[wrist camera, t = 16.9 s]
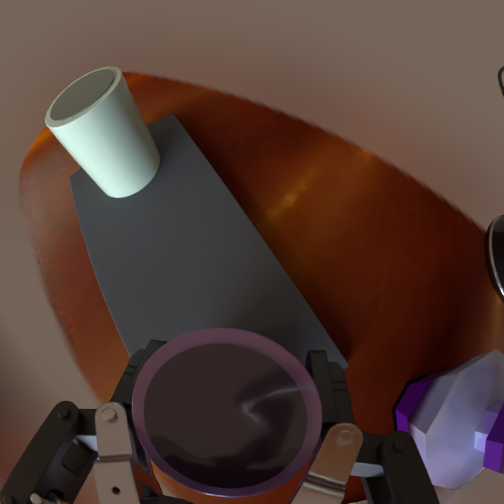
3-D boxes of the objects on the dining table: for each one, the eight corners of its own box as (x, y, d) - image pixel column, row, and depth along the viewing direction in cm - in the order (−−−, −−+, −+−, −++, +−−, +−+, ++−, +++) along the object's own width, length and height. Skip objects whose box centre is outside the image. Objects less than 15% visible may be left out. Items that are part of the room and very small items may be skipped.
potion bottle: (399, 476, 12) (489, 543, 1) (350, 407, 15) (462, 476, 4) (473, 402, 14) (581, 410, 2) (435, 328, 16) (564, 296, 5)
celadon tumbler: (148, 132, 22) (113, 56, 14) (170, 172, 20) (130, 85, 12) (94, 165, 21) (45, 101, 13) (108, 211, 20) (44, 143, 11)
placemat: (174, 116, 24) (172, 112, 23) (346, 364, 16) (349, 365, 15) (72, 180, 22) (69, 176, 21) (193, 452, 14) (191, 455, 14)
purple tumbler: (258, 317, 17) (254, 288, 8) (309, 394, 15) (357, 442, 6) (177, 364, 16) (100, 378, 7) (227, 440, 14) (197, 517, 5)
